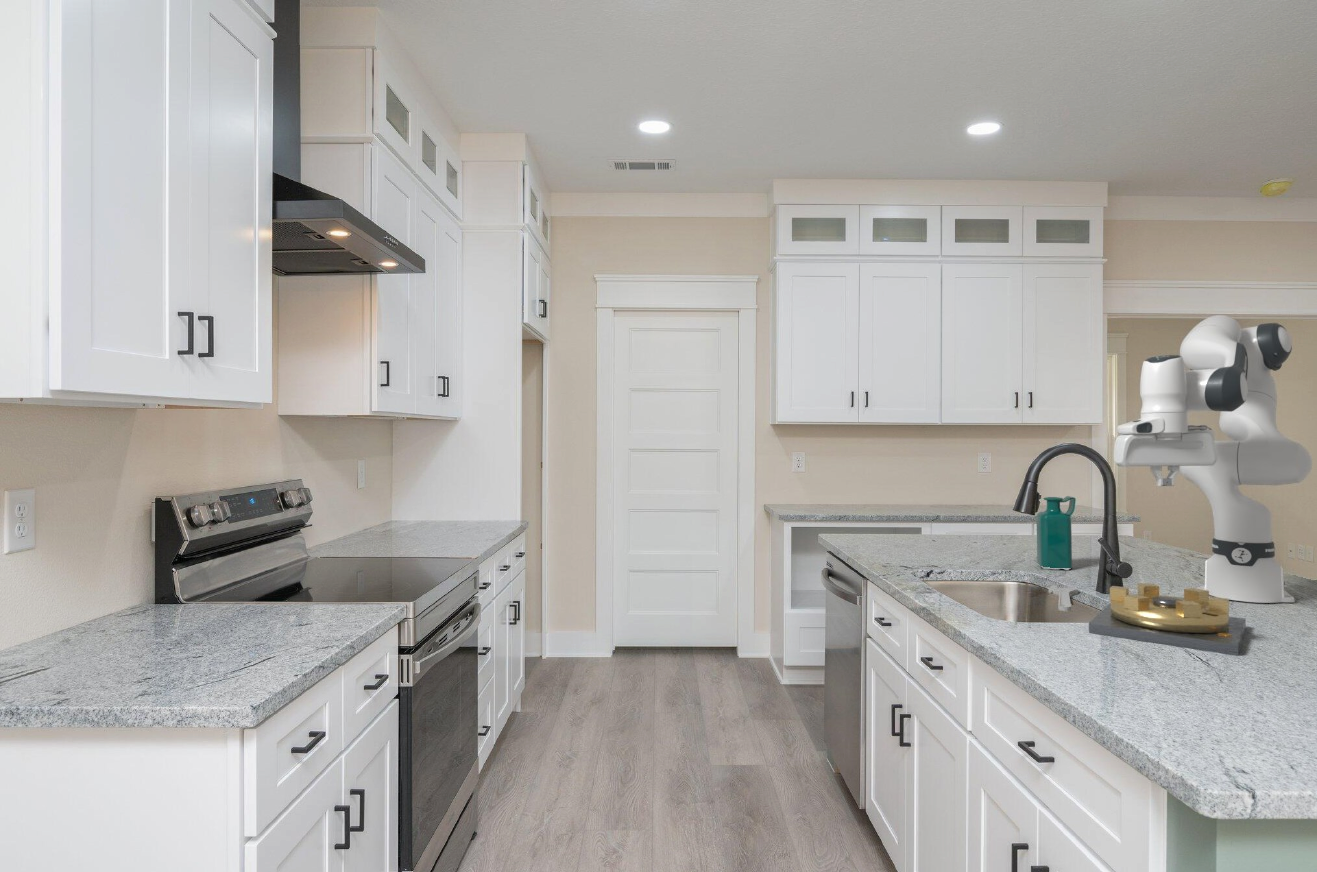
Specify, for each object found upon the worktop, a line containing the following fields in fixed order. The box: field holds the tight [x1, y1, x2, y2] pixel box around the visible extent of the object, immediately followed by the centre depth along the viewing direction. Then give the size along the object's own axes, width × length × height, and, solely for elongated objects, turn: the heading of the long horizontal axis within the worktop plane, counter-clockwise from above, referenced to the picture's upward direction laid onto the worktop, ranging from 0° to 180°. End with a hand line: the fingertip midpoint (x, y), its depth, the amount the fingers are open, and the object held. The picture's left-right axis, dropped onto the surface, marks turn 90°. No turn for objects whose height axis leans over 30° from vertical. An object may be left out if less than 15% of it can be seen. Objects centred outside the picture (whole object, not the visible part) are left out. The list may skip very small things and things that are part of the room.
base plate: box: [1088, 602, 1247, 656], centre depth 147 cm, size 24×24×2 cm
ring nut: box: [1109, 582, 1230, 633], centre depth 147 cm, size 20×20×6 cm
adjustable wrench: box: [1048, 584, 1079, 612], centre depth 176 cm, size 25×6×2 cm, turn 146°
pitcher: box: [1036, 495, 1077, 569], centre depth 216 cm, size 10×8×22 cm
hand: (1165, 486), depth 161 cm, fingers closed
